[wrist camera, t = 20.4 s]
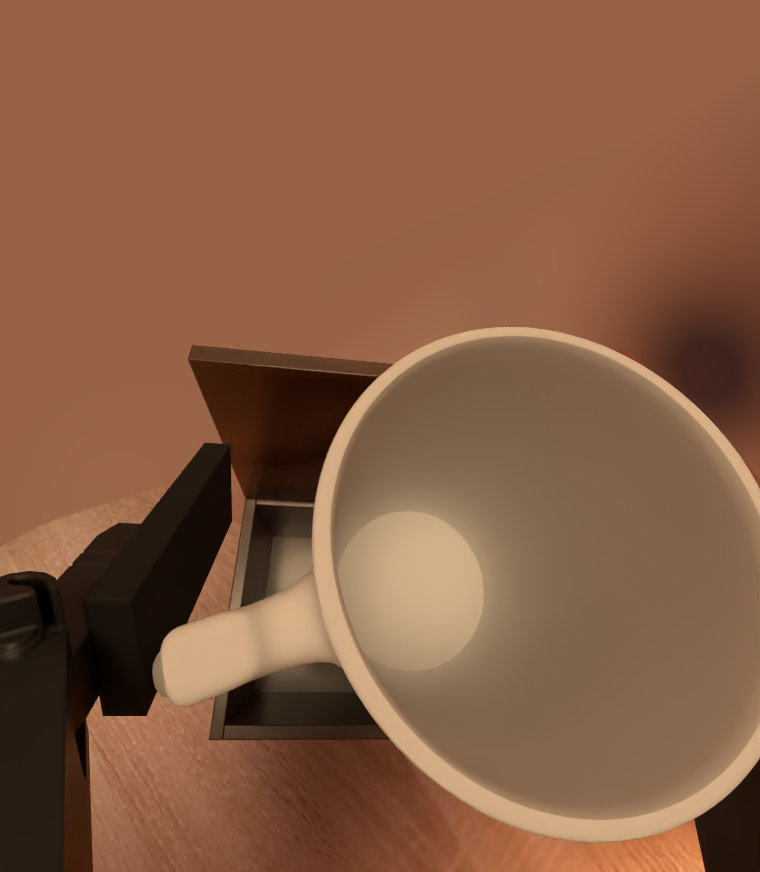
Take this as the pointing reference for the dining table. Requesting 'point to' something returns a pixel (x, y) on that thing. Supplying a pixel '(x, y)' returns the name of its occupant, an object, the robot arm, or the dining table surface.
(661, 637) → the mug
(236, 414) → the lid
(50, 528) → the dining table surface
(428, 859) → the dining table surface
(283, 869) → the dining table surface
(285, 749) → the dining table surface
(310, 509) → the chest
